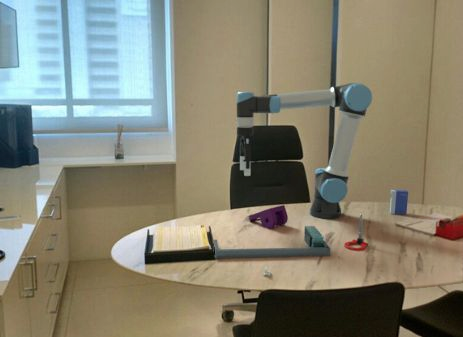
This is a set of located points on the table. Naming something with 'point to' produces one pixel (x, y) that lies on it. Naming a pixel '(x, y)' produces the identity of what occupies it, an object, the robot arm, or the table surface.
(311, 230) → the rail
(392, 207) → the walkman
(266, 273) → the power adapter
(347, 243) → the red ring with rod
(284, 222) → the mounting bracket
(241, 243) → the table surface
